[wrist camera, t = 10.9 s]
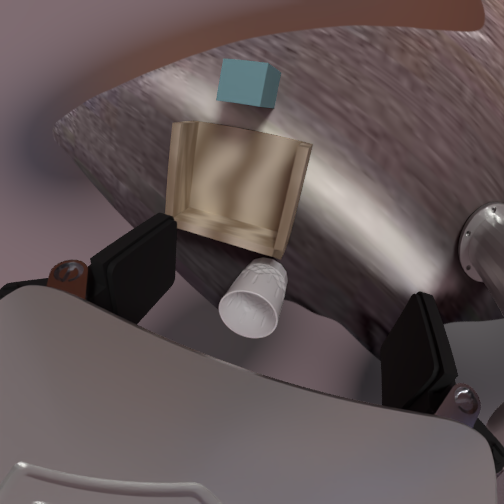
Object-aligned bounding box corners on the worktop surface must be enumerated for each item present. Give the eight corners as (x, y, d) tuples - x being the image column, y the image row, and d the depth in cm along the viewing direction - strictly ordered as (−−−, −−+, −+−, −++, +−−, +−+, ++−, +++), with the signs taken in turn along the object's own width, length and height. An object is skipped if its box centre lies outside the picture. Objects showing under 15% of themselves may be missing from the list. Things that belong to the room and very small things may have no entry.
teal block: (281, 72, 30) (268, 63, 25) (274, 108, 33) (259, 106, 27) (243, 67, 31) (223, 58, 25) (237, 102, 34) (216, 100, 28)
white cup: (282, 303, 46) (267, 346, 38) (237, 285, 47) (214, 324, 39) (298, 264, 42) (286, 305, 34) (249, 245, 43) (224, 281, 34)
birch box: (312, 144, 34) (308, 148, 29) (288, 241, 41) (280, 259, 36) (193, 120, 36) (172, 122, 32) (183, 211, 44) (164, 224, 39)
